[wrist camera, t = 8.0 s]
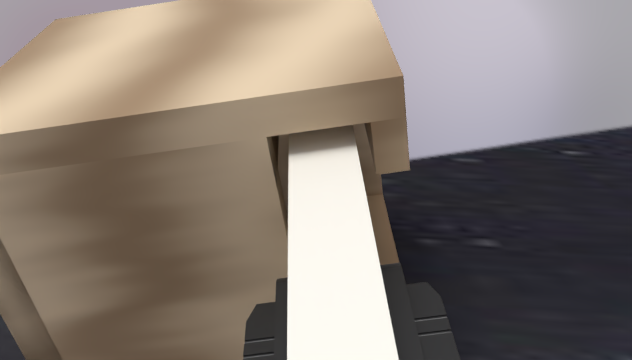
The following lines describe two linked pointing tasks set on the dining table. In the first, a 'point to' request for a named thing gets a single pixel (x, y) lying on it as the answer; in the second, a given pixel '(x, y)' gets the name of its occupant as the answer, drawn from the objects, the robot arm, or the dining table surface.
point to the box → (176, 167)
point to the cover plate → (333, 254)
